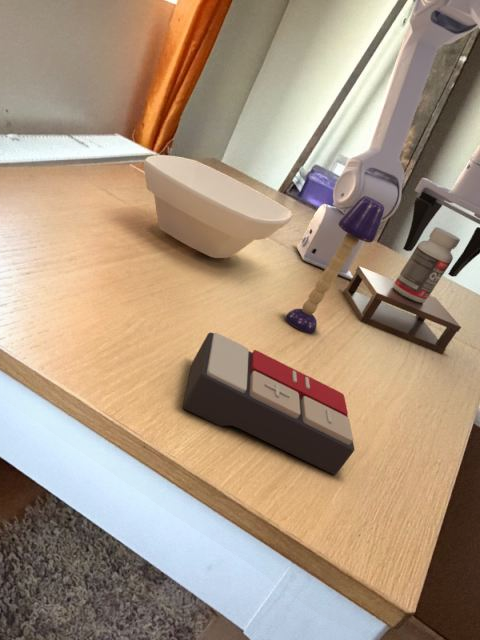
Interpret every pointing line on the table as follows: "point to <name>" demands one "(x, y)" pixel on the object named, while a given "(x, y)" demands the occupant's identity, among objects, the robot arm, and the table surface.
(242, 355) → the calculator
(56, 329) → the table surface
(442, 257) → the pill bottle
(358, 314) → the rack
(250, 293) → the table surface
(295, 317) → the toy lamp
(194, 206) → the bowl
